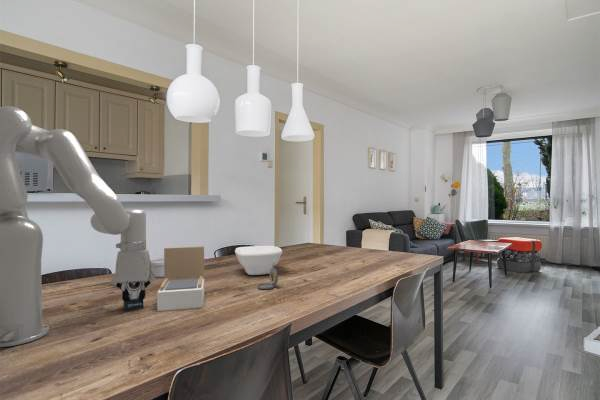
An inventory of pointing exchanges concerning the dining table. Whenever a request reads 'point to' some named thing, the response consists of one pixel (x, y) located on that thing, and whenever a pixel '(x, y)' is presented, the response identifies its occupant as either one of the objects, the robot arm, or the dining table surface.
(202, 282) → the open display box
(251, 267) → the bowl
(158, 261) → the ramekin
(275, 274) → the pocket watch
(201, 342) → the dining table surface
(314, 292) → the dining table surface
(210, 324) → the dining table surface
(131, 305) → the watch
